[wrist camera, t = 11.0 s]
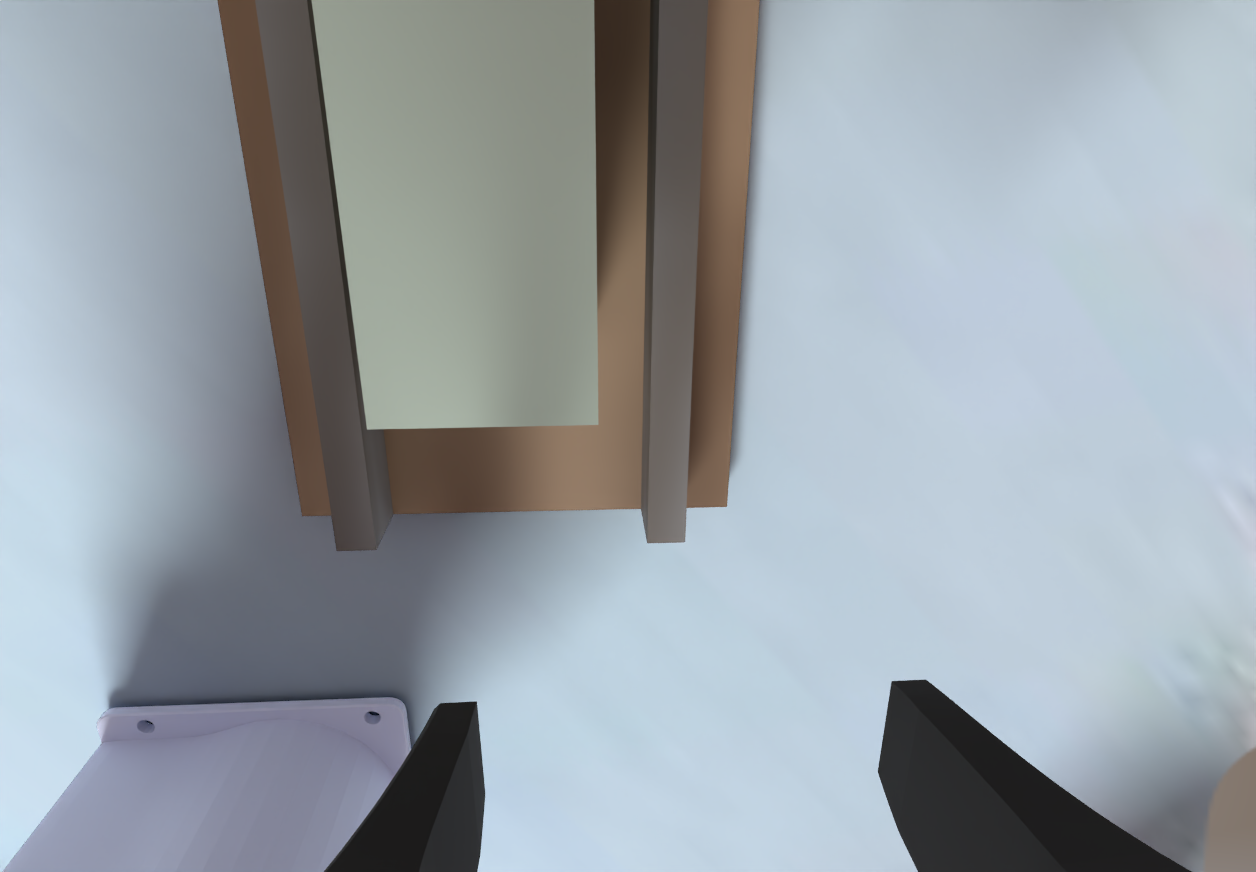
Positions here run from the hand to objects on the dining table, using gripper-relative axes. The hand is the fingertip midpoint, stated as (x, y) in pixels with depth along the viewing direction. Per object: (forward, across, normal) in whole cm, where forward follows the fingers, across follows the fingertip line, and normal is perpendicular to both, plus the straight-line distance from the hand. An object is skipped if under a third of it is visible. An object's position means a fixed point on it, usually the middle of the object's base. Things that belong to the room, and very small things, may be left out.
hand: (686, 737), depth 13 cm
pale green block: (+9, +3, -11) cm, 15 cm away
